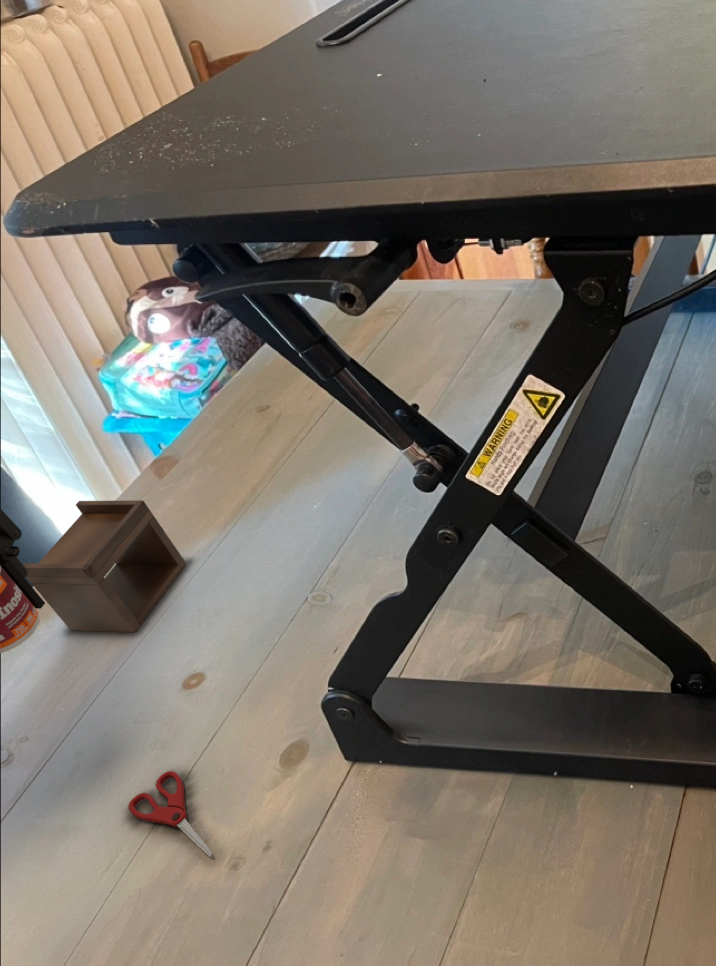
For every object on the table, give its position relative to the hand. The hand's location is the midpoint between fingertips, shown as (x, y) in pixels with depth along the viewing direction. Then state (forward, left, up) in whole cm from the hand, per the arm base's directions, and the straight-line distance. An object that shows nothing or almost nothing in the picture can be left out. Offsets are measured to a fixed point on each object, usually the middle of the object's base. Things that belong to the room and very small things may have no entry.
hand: (9, 631), depth 108 cm
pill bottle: (0, 0, -1) cm, 1 cm away
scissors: (+15, -8, -20) cm, 26 cm away
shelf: (-13, +23, -20) cm, 33 cm away
